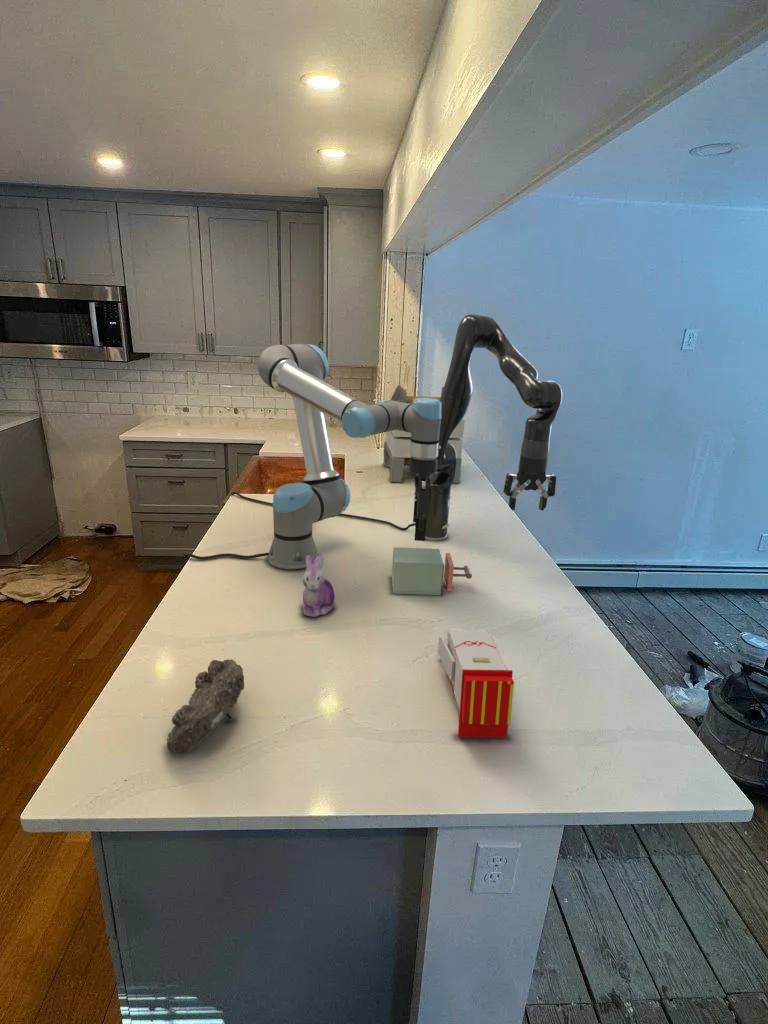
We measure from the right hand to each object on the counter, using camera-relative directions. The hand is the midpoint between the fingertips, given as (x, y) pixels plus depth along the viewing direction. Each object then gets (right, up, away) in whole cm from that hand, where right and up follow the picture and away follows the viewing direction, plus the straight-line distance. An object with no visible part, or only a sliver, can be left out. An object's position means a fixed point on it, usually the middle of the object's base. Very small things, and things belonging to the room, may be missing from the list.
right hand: (526, 509), depth 163 cm
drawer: (-25, -21, 0) cm, 33 cm away
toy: (-23, -38, -44) cm, 63 cm away
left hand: (-31, -6, -4) cm, 32 cm away
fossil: (-74, -40, -55) cm, 100 cm away
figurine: (-58, -26, -15) cm, 65 cm away
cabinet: (-32, -22, 0) cm, 39 cm away
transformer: (-24, +18, +112) cm, 116 cm away
